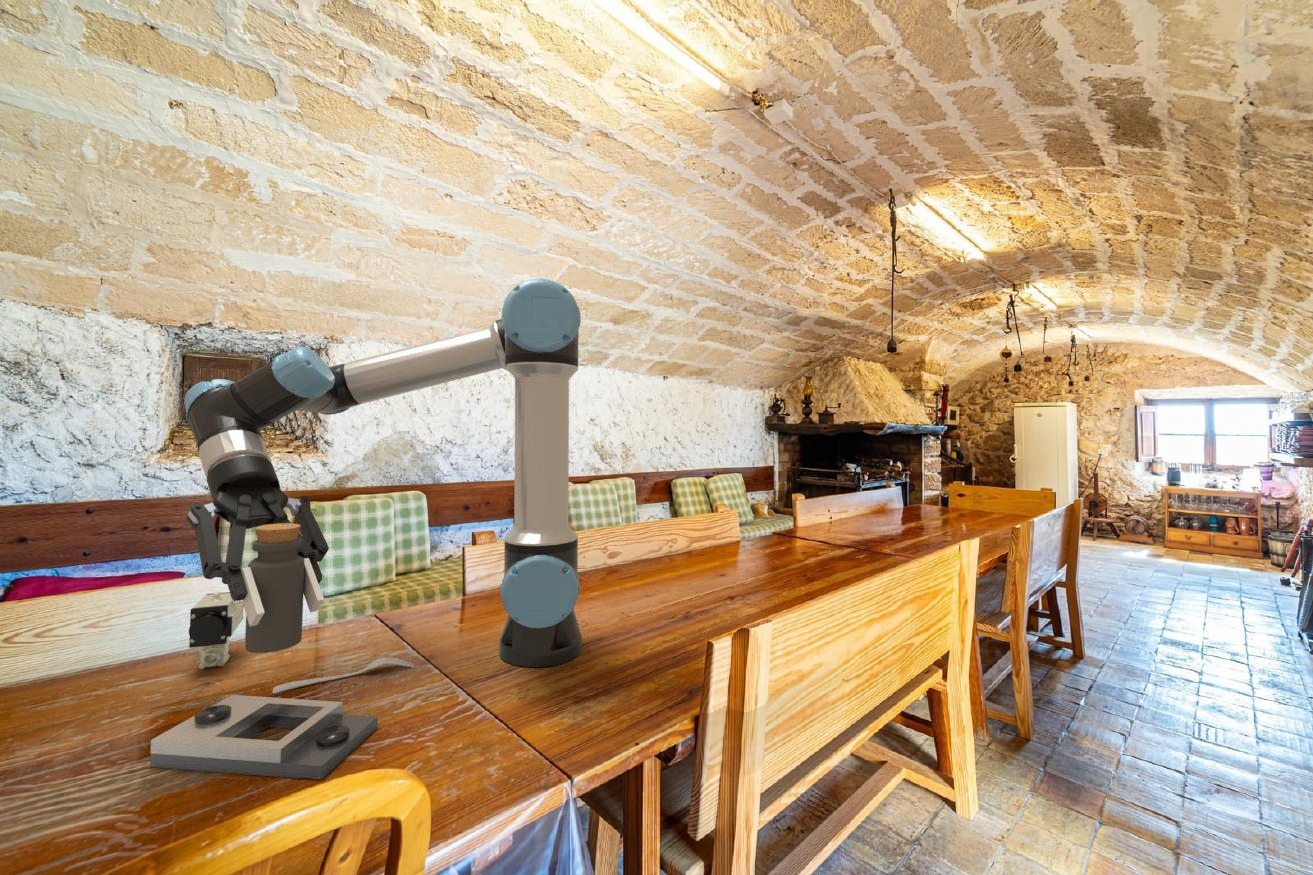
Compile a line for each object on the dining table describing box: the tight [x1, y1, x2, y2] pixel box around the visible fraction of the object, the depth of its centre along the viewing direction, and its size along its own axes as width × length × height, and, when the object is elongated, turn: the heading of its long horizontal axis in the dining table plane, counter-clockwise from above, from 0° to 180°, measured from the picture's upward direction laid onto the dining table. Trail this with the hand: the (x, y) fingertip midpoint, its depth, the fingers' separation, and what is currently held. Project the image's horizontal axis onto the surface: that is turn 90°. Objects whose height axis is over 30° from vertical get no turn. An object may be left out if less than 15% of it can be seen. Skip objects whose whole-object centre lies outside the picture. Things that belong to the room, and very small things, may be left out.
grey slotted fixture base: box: [149, 694, 379, 781], centre depth 67 cm, size 21×11×4 cm, turn 86°
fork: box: [272, 657, 415, 694], centre depth 87 cm, size 3×21×3 cm, turn 121°
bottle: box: [244, 522, 304, 654], centre depth 67 cm, size 6×6×15 cm
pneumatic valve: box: [188, 591, 244, 670], centre depth 90 cm, size 6×12×12 cm, turn 28°
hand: (288, 612), depth 65 cm, fingers closed on bottle, 6 cm apart
